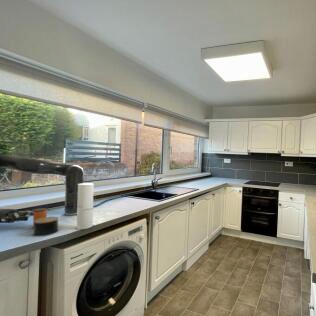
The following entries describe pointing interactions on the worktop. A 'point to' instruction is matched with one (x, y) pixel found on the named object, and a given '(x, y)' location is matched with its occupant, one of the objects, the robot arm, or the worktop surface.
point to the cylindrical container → (85, 205)
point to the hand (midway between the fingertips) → (34, 216)
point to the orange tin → (39, 214)
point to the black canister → (45, 226)
